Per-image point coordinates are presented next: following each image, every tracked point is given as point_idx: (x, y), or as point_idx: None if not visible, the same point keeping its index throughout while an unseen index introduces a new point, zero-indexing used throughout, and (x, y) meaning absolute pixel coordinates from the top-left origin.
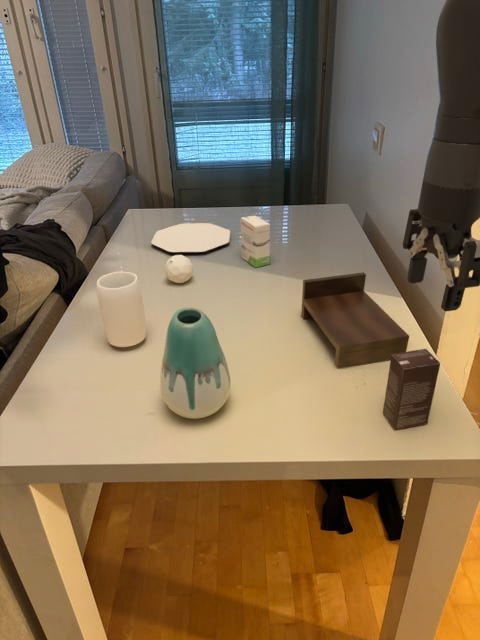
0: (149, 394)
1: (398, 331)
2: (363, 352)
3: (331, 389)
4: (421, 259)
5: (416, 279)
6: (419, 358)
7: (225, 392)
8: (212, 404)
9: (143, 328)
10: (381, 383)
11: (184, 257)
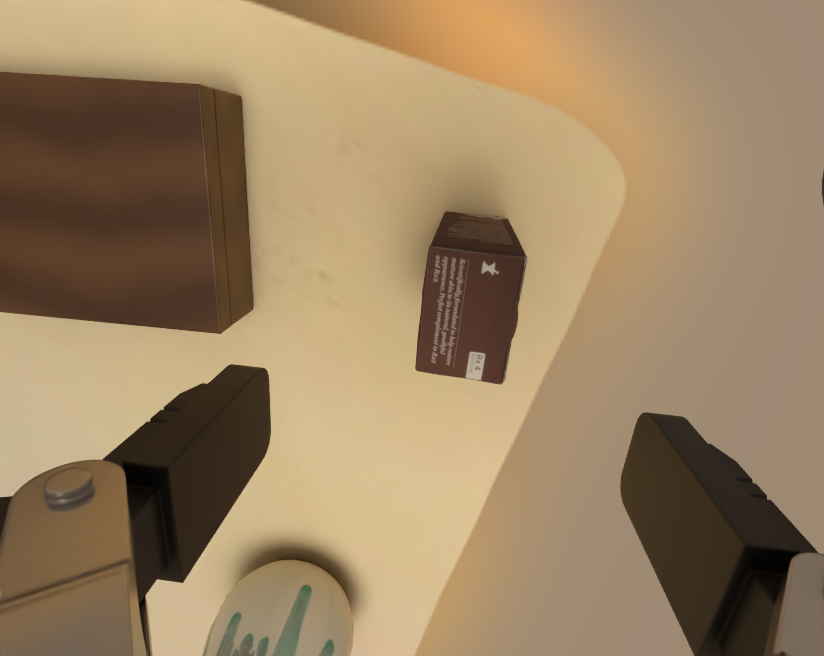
0: None
1: (166, 106)
2: (230, 250)
3: (323, 358)
4: (169, 515)
5: (259, 419)
6: (475, 308)
7: (329, 609)
8: (349, 626)
9: None
10: (334, 234)
11: None
